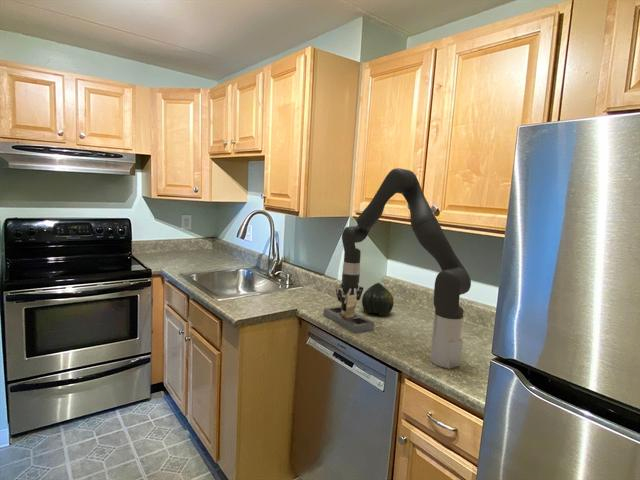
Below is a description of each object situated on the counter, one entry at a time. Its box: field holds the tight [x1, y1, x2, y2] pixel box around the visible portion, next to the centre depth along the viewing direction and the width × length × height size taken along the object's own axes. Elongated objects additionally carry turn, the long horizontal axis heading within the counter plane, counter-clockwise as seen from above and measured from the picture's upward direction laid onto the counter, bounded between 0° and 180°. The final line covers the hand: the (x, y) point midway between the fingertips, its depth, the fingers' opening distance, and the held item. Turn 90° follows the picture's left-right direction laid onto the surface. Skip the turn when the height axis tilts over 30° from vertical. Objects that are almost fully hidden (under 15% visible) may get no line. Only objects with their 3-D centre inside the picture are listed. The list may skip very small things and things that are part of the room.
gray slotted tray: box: [322, 305, 375, 334], centre depth 165 cm, size 24×10×3 cm, turn 32°
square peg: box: [341, 294, 356, 318], centre depth 164 cm, size 4×4×10 cm
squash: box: [361, 282, 395, 317], centre depth 180 cm, size 14×15×15 cm
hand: (348, 310), depth 165 cm, fingers closed on square peg, 4 cm apart
